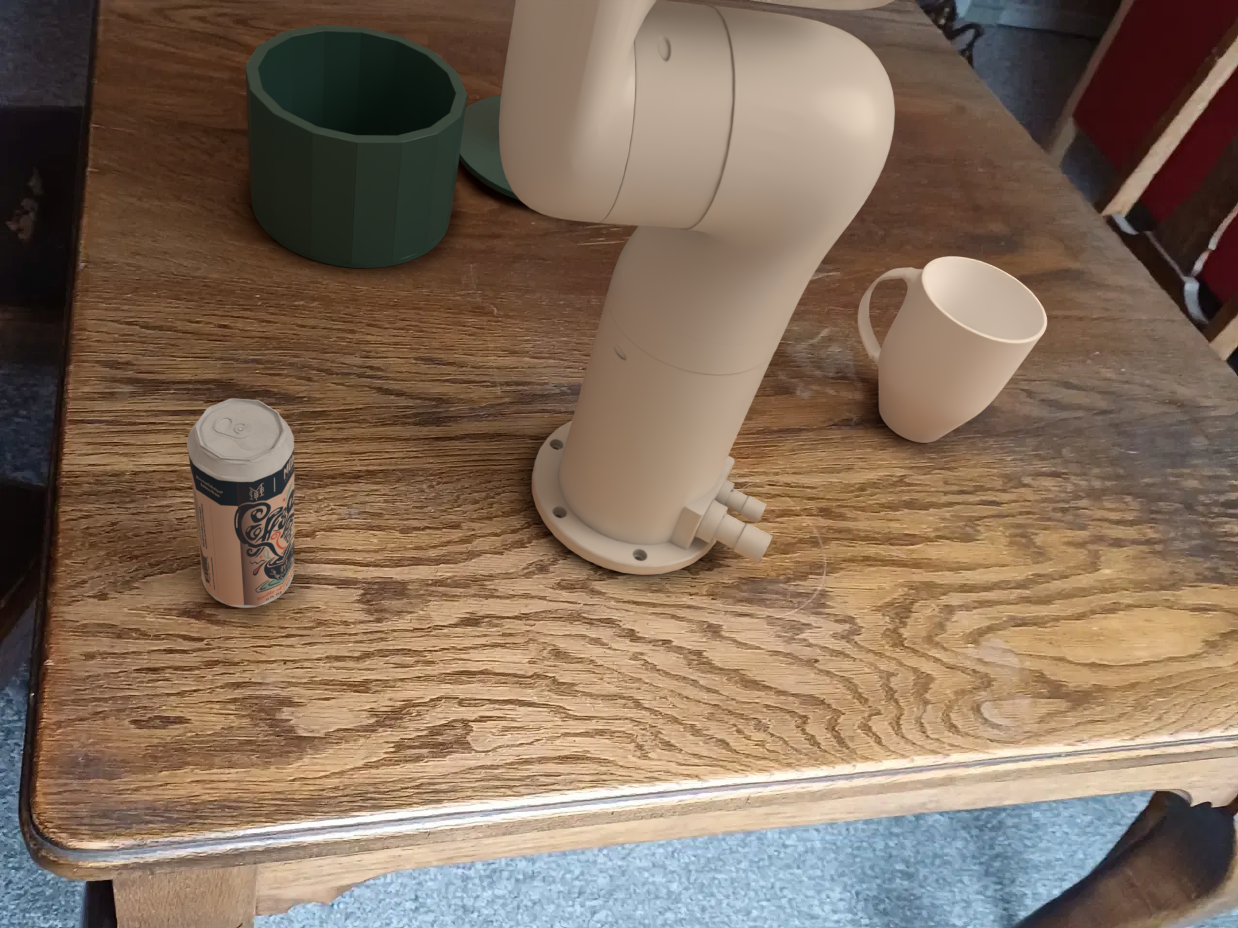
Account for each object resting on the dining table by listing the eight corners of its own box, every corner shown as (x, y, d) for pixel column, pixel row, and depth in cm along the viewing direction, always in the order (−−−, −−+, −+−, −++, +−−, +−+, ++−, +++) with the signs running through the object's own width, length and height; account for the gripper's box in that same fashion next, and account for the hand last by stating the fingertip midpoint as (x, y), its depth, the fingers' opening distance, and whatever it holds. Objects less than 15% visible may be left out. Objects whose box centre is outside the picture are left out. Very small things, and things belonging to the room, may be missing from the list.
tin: (484, 203, 86) (503, 84, 78) (379, 296, 76) (388, 170, 68) (330, 128, 88) (334, 4, 80) (208, 208, 78) (198, 76, 70)
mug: (986, 428, 81) (1069, 308, 72) (931, 483, 76) (1013, 361, 67) (861, 340, 85) (926, 215, 76) (800, 387, 79) (862, 259, 71)
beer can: (272, 623, 57) (268, 479, 49) (185, 598, 57) (166, 449, 48) (307, 555, 61) (310, 408, 52) (225, 530, 60) (214, 379, 52)
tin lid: (662, 157, 95) (682, 89, 90) (583, 240, 85) (600, 169, 80) (510, 85, 97) (521, 15, 93) (414, 157, 87) (421, 83, 82)
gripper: (587, -28, 70) (540, 203, 84) (684, -94, 81) (628, 120, 95) (488, -72, 71) (458, 163, 85) (597, -132, 82) (554, 85, 96)
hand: (548, 138), depth 90 cm, fingers closed on tin lid, 3 cm apart
